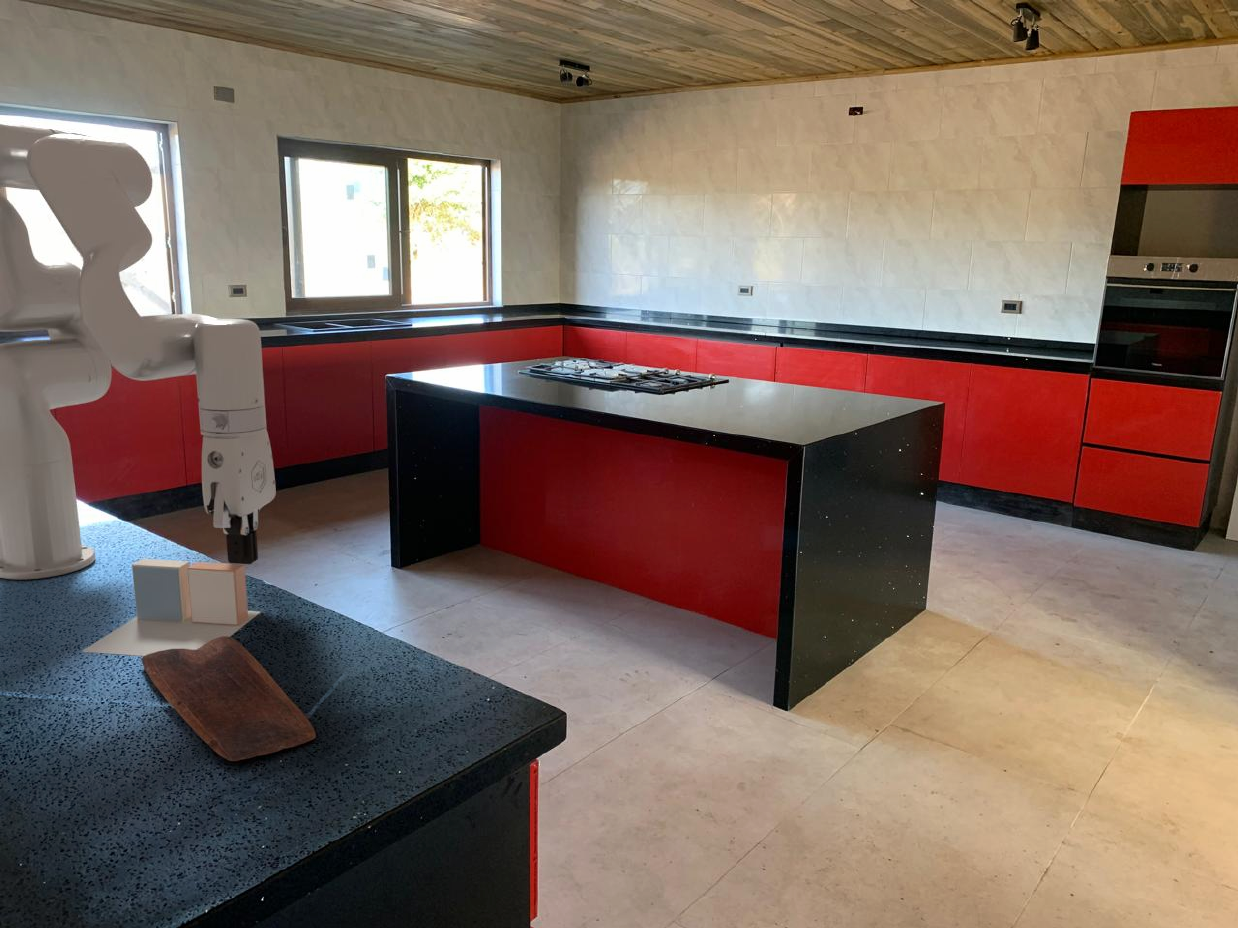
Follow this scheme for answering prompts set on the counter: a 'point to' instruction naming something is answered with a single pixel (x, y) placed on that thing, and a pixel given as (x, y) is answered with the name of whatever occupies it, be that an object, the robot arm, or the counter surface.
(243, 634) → the counter surface
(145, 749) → the counter surface
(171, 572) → the cream block
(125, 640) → the grey mat
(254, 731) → the wooden tablet
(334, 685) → the counter surface
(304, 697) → the counter surface
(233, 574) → the salmon pink block
